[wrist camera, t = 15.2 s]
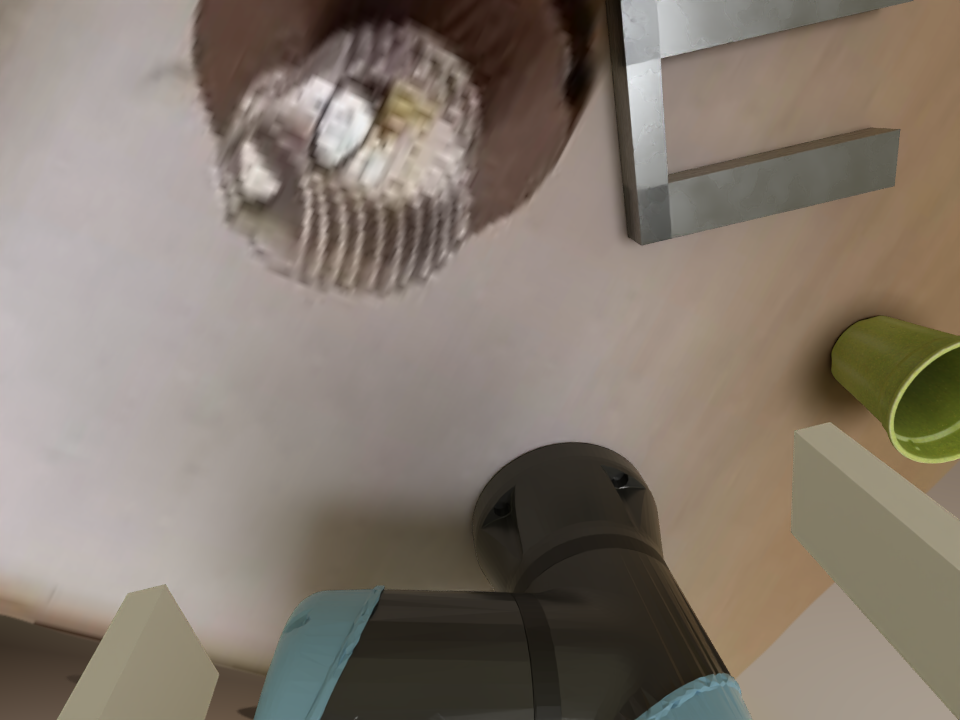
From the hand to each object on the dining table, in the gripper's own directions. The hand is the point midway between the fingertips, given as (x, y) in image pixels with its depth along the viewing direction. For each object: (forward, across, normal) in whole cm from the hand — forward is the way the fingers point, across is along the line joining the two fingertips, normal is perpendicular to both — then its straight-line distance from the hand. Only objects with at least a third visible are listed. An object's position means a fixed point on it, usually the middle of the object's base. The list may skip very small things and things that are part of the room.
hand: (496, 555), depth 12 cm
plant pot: (+29, -31, +16) cm, 45 cm away
